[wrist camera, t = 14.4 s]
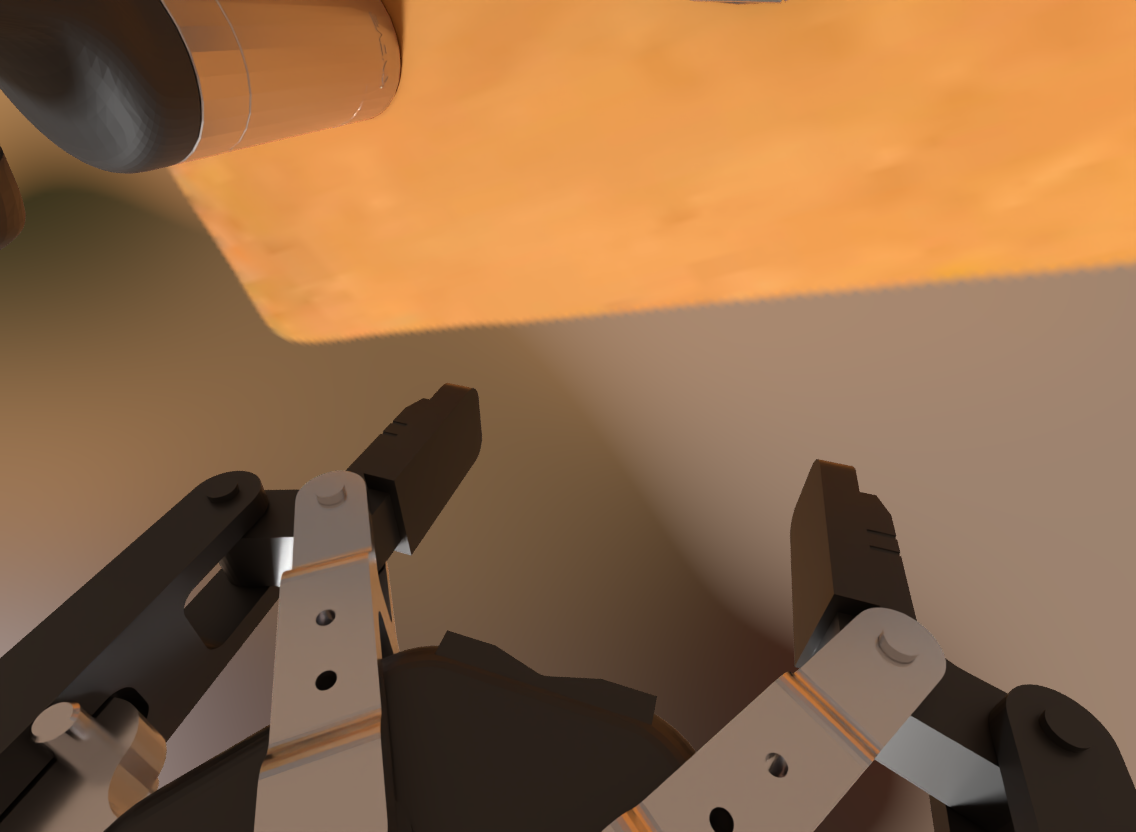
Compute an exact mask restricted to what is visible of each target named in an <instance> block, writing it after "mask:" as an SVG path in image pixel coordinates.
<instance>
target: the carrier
mask: <svg viewBox="0 0 1136 832" xmlns="http://www.w3.org/2000/svg"><path fill="white" fill-rule="evenodd" d="M691 1H703V2H720V3H729V4H756V3H781V0H691ZM784 1H785V2H786V1H788V0H784Z"/></svg>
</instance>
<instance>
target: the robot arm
mask: <svg viewBox="0 0 1136 832" xmlns="http://www.w3.org/2000/svg"><path fill="white" fill-rule="evenodd" d="M399 75H400V51H399V46H398V41H397V36H396V33H395V30H394V27H393V24H392V22H391V19H390V16H389V15H388V13H387V11H386V9H385V7H384V5H383V3H382V2H381V0H0V89H1V90H2V91H3V92H4V94H5V95H6V96H7V97H8V98H9V99H10V101H11V102H12V103H13V104H14V105H15V106H16V108H17V109H18V110H19V111H20V112H21V113H22V114H23V115H24V116H25V117H26V118H27V119H28V120H29V121H30V122H31V123H32V124H33V125H34V126H35V127H36V128H37V129H38V130H39V131H40V132H41V133H43V134H44V135H45V136H46V137H47V138H48V139H50V140H51V141H52V142H53V143H55V144H56V145H57V146H58V147H60V148H62V149H63V150H64V151H66V152H67V153H69V154H70V155H72V156H74V157H75V158H77V159H79V160H80V161H82V162H84V163H86V164H89V165H91V166H94V167H97V168H99V169H102V170H105V171H110V172H116V173H139V172H145V171H151V170H155V169H159V168H163V167H168V166H172V165H176V164H181V163H185V162H189V161H193V160H198V159H202V158H206V157H210V156H215V155H219V154H222V153H226V152H230V151H235V150H239V149H243V148H248V147H252V146H256V145H260V144H265V143H269V142H273V141H278V140H282V139H286V138H290V137H295V136H299V135H303V134H308V133H312V132H316V131H320V130H325V129H329V128H334V127H338V126H343V125H347V124H351V123H355V122H359V121H364V120H368V119H372V118H374V117H375V116H377V115H379V114H381V113H382V112H383V111H384V110H385V109H386V108H387V107H388V106H389V104H390V103H391V101H392V99H393V97H394V96H395V93H396V89H397V86H398V83H399ZM25 217H26V213H25V209H24V204H23V200H22V197H21V194H20V191H19V188H18V185H17V183H16V181H15V178H14V176H13V174H12V172H11V169H10V167H9V164H8V162H7V160H6V157H5V155H4V153H3V150H2V148H1V147H0V249H2V248H4V247H5V246H7V245H8V244H9V243H10V242H11V241H13V240H14V239H15V238H16V237H17V236H18V235H19V234H20V232H21V231H22V230H23V227H24V225H25ZM481 442H482V432H481V421H480V409H479V398H478V393H477V391H476V389H474V388H469V387H464V386H459V385H455V384H450V383H446V384H444V385H443V386H442V387H441V388H440V389H439V390H438V391H437V392H436V393H435V394H434V396H433V397H432V398H431V399H430V400H429V399H424V398H423V399H421V400H419V401H417V402H415V403H414V404H412V405H410V406H408V407H406V408H405V409H404V410H403V411H402V412H401V413H400V414H399V415H398V416H397V417H396V418H395V419H394V420H393V423H391V424H390V425H389V426H388V427H387V428H386V429H385V430H384V431H383V434H380V435H379V436H378V437H377V438H376V439H375V440H374V441H373V442H372V443H371V445H370V446H369V447H368V448H367V449H366V450H365V451H364V452H363V453H362V454H361V455H360V456H359V457H358V458H357V459H356V460H355V461H354V462H353V463H352V464H351V465H350V466H349V468H348V469H347V470H346V471H333V472H328V473H324V474H322V475H319V476H317V477H315V478H313V479H311V480H310V481H308V482H307V483H306V484H305V485H304V486H303V487H302V488H301V489H300V490H264V488H263V486H262V483H261V481H260V479H259V478H258V477H257V476H256V475H255V474H253V473H250V472H245V471H232V472H226V473H222V474H219V475H216V476H214V477H212V478H209V479H208V480H206V481H204V482H202V483H201V484H200V485H198V486H197V487H196V488H195V489H193V490H192V491H191V492H190V493H189V494H188V495H187V496H185V497H184V498H183V499H182V500H181V501H180V502H179V503H178V504H176V505H175V506H174V507H173V508H172V509H171V510H169V511H168V512H167V513H166V514H165V515H164V516H162V517H161V518H160V519H159V520H158V521H157V522H156V523H154V524H153V525H152V526H151V527H150V528H149V529H148V530H146V531H145V532H144V533H143V534H142V535H141V536H140V537H138V538H137V539H136V540H135V541H134V542H133V543H132V544H130V546H128V547H127V548H126V549H125V550H124V551H122V552H121V553H120V554H119V555H118V556H117V557H116V558H114V559H113V560H112V561H111V562H110V563H109V564H108V565H106V566H105V567H104V568H103V569H102V570H101V571H100V572H98V573H97V574H96V575H95V576H94V577H93V578H92V579H90V580H89V581H88V582H87V583H86V584H85V585H84V586H82V587H81V588H80V589H79V590H78V591H77V592H76V593H74V594H73V595H72V596H71V597H70V598H69V599H68V600H66V601H65V602H64V603H63V604H62V605H61V606H60V607H58V608H57V609H56V610H55V611H54V612H53V613H52V614H51V615H49V616H48V617H47V618H46V619H45V620H44V621H42V622H41V623H40V624H39V625H38V626H37V627H36V628H34V629H33V630H32V631H31V632H30V633H29V634H28V635H26V636H25V637H24V638H23V639H22V640H21V641H20V642H18V643H17V644H16V645H15V646H14V647H13V648H12V649H10V650H9V651H8V652H7V653H6V654H5V655H4V656H3V657H1V658H0V832H813V831H814V830H815V829H816V828H817V827H818V825H819V824H820V823H821V822H822V821H823V820H824V818H825V817H826V816H827V815H828V814H829V812H830V811H831V810H832V809H833V808H834V806H835V805H836V804H837V803H838V802H839V800H840V799H841V798H842V797H843V796H844V795H845V793H846V792H847V791H848V790H849V789H850V787H851V786H852V785H853V784H854V783H855V782H856V780H857V779H858V778H859V777H860V775H861V774H862V773H863V772H864V771H865V770H866V768H867V767H868V766H869V765H870V764H871V762H872V761H873V760H874V759H875V760H877V761H878V762H880V763H881V764H883V765H885V766H886V767H888V768H889V769H891V770H892V771H894V772H895V773H897V774H899V775H900V776H902V777H903V778H905V779H906V780H908V781H910V782H911V783H913V784H914V785H916V786H917V787H919V788H921V789H922V790H924V791H925V792H927V793H928V794H929V797H930V804H931V811H932V818H933V825H934V832H1136V789H1135V787H1134V784H1133V782H1132V779H1131V777H1130V775H1129V772H1128V770H1127V767H1126V765H1125V762H1124V760H1123V758H1122V755H1121V754H1120V751H1119V748H1118V747H1117V745H1116V743H1115V741H1114V739H1113V738H1112V736H1111V735H1110V733H1109V732H1108V731H1107V730H1106V729H1105V727H1104V726H1103V725H1102V724H1101V723H1100V722H1099V721H1098V720H1097V719H1096V718H1095V717H1094V716H1093V715H1092V714H1091V713H1090V712H1089V711H1087V710H1086V709H1085V708H1084V707H1082V706H1081V705H1080V704H1078V703H1077V702H1075V701H1074V700H1072V699H1071V698H1069V697H1067V696H1066V695H1063V694H1061V693H1059V692H1057V691H1055V690H1052V689H1050V688H1047V687H1043V686H1039V685H1021V686H1017V687H1016V688H1014V689H1012V690H1011V691H1010V692H1009V693H1008V694H1007V693H1005V692H1004V691H1002V690H1000V689H998V688H996V687H994V686H992V685H990V684H988V683H987V682H984V681H983V680H981V679H979V678H977V677H975V676H973V675H971V674H969V673H967V672H966V671H964V670H962V669H960V668H958V667H957V666H955V665H954V664H952V663H951V662H950V661H948V660H947V659H946V658H945V656H944V653H943V650H942V648H941V647H940V645H939V643H938V642H937V640H936V639H935V638H934V636H933V635H932V634H931V633H930V632H929V631H928V630H927V629H926V628H925V627H924V626H922V625H921V624H920V623H919V622H917V620H916V616H915V612H914V608H913V604H912V600H911V596H910V592H909V587H908V583H907V579H906V575H905V571H904V566H903V562H902V558H901V556H899V553H900V550H899V546H898V542H897V540H896V539H895V537H896V533H895V529H894V525H893V521H892V517H891V514H890V513H889V512H888V511H887V509H886V508H885V507H884V505H883V504H882V502H881V501H880V500H879V499H878V497H877V496H876V495H872V494H867V493H861V492H860V491H859V486H858V481H857V475H856V470H855V468H854V467H853V466H848V465H843V464H838V463H833V462H829V461H824V460H819V459H816V460H815V462H814V463H813V465H812V467H811V469H810V472H809V474H808V477H807V479H806V482H805V484H804V487H803V489H802V492H801V495H800V497H799V499H798V502H797V504H796V507H795V510H794V513H793V517H792V522H791V530H790V543H791V572H792V602H793V632H794V661H795V667H797V668H800V669H799V670H798V671H797V672H795V673H794V674H792V673H791V672H787V673H785V674H783V675H782V676H781V677H779V678H778V679H777V680H776V681H775V682H774V683H773V684H771V685H770V686H769V687H768V688H767V689H766V690H765V691H764V692H763V693H762V694H760V695H759V696H758V697H757V698H756V699H755V700H754V701H753V702H752V703H751V704H749V705H748V706H747V707H746V708H745V709H744V710H743V711H742V712H741V713H739V714H738V715H737V716H736V717H735V718H734V719H733V720H732V721H731V722H729V723H728V724H727V725H726V726H725V727H724V728H723V729H722V730H721V731H720V732H718V734H716V735H715V736H714V737H713V738H712V739H711V740H710V741H709V742H707V743H706V744H705V745H704V746H703V747H702V748H701V749H700V750H699V751H698V752H696V751H695V750H694V748H693V747H692V746H691V745H690V743H689V742H688V741H687V740H686V739H685V738H684V737H683V736H682V735H681V734H680V733H679V732H678V731H677V730H676V729H675V728H674V727H672V726H671V725H670V724H669V723H667V722H666V721H665V720H664V719H662V718H660V717H659V716H657V715H656V714H654V710H655V704H656V698H657V696H654V695H651V694H647V693H644V692H641V691H638V690H634V689H632V688H628V687H625V686H622V685H619V684H616V683H612V682H609V681H606V680H603V679H589V678H588V679H587V678H570V677H550V676H543V675H540V674H538V673H537V672H535V671H534V670H532V669H530V668H528V667H527V666H526V665H524V664H523V663H521V662H520V661H518V660H517V659H515V658H514V657H512V656H510V655H509V654H507V653H506V652H504V651H503V650H501V649H500V648H498V647H497V646H495V645H492V644H489V643H485V642H482V641H479V640H476V639H473V638H469V637H466V636H463V635H460V634H457V633H454V632H450V631H447V632H446V634H445V636H444V638H443V639H442V641H441V643H440V645H439V646H425V647H417V648H412V649H408V650H404V651H402V652H400V651H399V647H398V642H397V636H396V629H395V621H394V612H393V604H392V596H391V589H390V588H391V587H390V580H389V571H388V565H387V560H388V558H389V557H390V555H391V554H392V553H393V551H398V552H402V553H405V554H408V555H412V554H413V552H414V551H415V549H416V548H417V546H418V545H419V543H420V542H421V540H422V539H423V537H424V536H425V534H426V533H427V532H428V530H429V529H430V527H431V526H432V524H433V523H434V521H435V520H436V518H437V516H438V515H439V514H440V512H441V511H442V509H443V508H444V506H445V505H446V504H447V502H448V501H449V499H450V498H451V496H452V495H453V493H454V492H455V490H456V489H457V487H458V486H459V484H460V483H461V481H462V480H463V479H464V477H465V476H466V474H467V473H468V471H469V470H470V468H471V467H472V465H473V464H474V462H475V461H476V459H477V457H478V455H479V452H480V448H481ZM218 562H219V564H220V566H221V568H222V569H221V570H220V571H219V572H218V573H217V574H216V575H215V576H214V577H213V578H212V579H211V580H210V581H209V583H208V584H207V585H206V586H205V587H204V588H203V589H202V590H201V591H200V592H199V593H198V595H197V596H196V597H195V598H194V599H193V600H192V601H191V602H190V603H189V604H188V605H187V606H186V607H185V608H184V605H185V601H186V599H187V597H188V596H189V594H190V593H191V591H192V590H193V589H194V588H195V587H196V586H197V585H198V584H199V582H200V581H201V580H202V579H203V578H204V577H205V576H206V575H207V574H208V573H209V572H210V571H211V570H212V569H213V568H214V567H215V565H216V564H217V563H218ZM278 599H279V608H278V621H277V635H276V649H275V665H274V678H273V692H272V707H271V721H270V725H268V726H266V727H265V728H263V729H261V730H260V731H258V732H256V733H254V734H253V735H251V736H249V737H247V738H246V739H244V740H242V741H241V742H239V743H237V744H235V745H234V746H232V747H230V748H229V749H227V750H225V751H224V752H222V753H220V754H219V755H217V756H215V757H213V758H211V759H210V760H208V761H206V762H205V763H203V764H201V765H199V766H198V767H196V768H194V769H193V770H191V771H189V772H187V773H186V774H184V775H182V776H181V777H179V778H177V779H176V780H174V781H172V782H170V783H169V784H167V785H165V786H164V787H162V788H160V789H158V786H159V780H158V776H159V774H160V772H161V770H162V768H163V765H164V762H165V759H166V753H167V752H166V751H167V749H166V742H167V741H168V739H169V738H170V737H171V736H172V734H173V733H174V732H175V731H176V729H177V728H178V726H179V725H180V724H181V723H182V722H183V720H184V719H185V717H186V716H187V715H188V714H189V713H190V711H191V710H192V709H193V707H194V706H195V705H196V704H197V702H198V701H199V700H200V698H201V697H202V696H203V695H204V693H205V692H206V691H207V689H208V688H209V687H210V686H211V684H212V683H213V682H214V681H215V679H216V678H217V677H218V675H219V674H220V673H221V671H222V670H223V669H224V668H225V666H226V665H227V664H228V662H229V661H230V660H231V659H232V657H233V656H234V655H235V653H236V652H237V651H238V650H239V649H240V647H241V646H242V644H243V643H244V642H245V641H246V640H247V638H248V637H249V636H250V634H251V633H252V632H253V631H254V629H255V628H256V627H257V625H258V624H259V623H260V622H261V620H262V619H263V618H264V616H265V615H266V614H267V612H268V611H269V610H270V609H271V607H272V606H273V605H274V603H275V602H276V601H277V600H278ZM157 789H158V790H157Z"/></svg>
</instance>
